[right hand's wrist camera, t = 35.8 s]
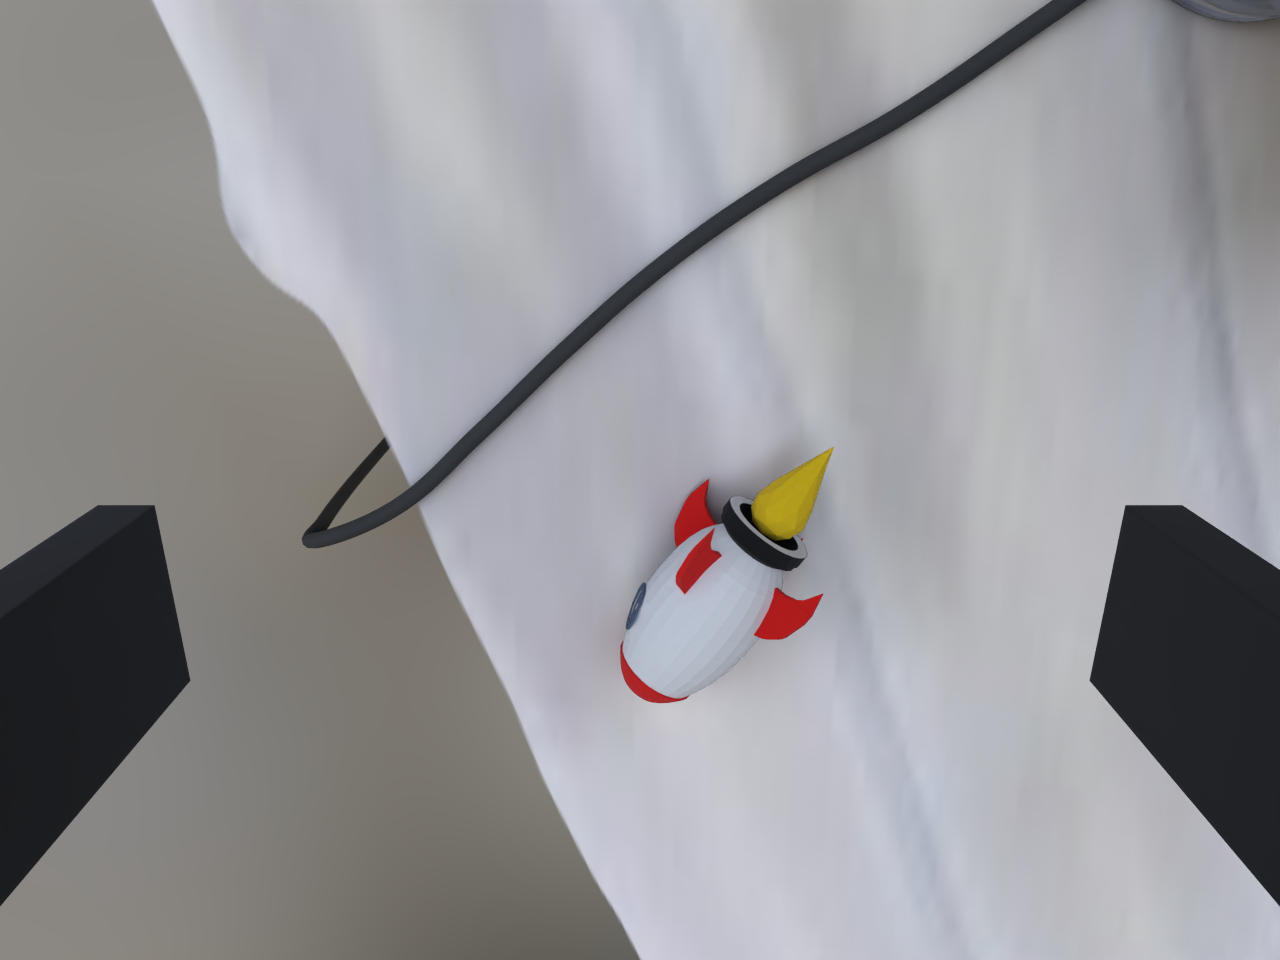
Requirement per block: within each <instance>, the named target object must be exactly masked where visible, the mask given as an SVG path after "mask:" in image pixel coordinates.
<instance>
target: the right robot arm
mask: <svg viewBox="0 0 1280 960" xmlns="http://www.w3.org/2000/svg"><path fill="white" fill-rule="evenodd" d="M1085 1H1086V0H1052V1H1051V2H1049V3H1048V4H1047V5H1045V6H1044V7H1042V8H1041V9H1039V10H1038V11H1037V12H1035V13H1034V14H1032V15H1031V16H1029V17H1028V18H1027V19H1025V20H1024V21H1022V22H1021V23H1019V24H1018V25H1016V26H1015V27H1014V28H1012V29H1011V30H1009V31H1008V32H1007V33H1005V34H1004V35H1002V36H1001V37H999V38H998V39H997V40H995V41H994V42H992V43H991V44H990V45H988V46H987V47H985V48H984V49H982V50H981V51H980V52H978V53H977V54H975V55H974V56H973V57H971V58H970V59H968V60H967V61H965V62H964V63H963V64H961V65H960V66H958V67H957V68H955V69H954V70H953V71H951V72H950V73H948V74H947V75H945V76H944V77H942V78H941V79H939V80H938V81H936V82H935V83H933V84H932V85H930V86H929V87H927V88H926V89H924V90H923V91H921V92H920V93H918V94H916V95H915V96H913V97H912V98H910V99H909V100H907V101H905V102H904V103H902V104H901V105H899V106H897V107H896V108H894V109H893V110H891V111H889V112H888V113H886V114H884V115H882V116H881V117H879V118H877V119H876V120H874V121H872V122H870V123H868V124H867V125H865V126H863V127H861V128H859V129H858V130H856V131H854V132H852V133H850V134H848V135H846V136H845V137H843V138H841V139H839V140H837V141H835V142H833V143H831V144H830V145H828V146H826V147H824V148H822V149H820V150H818V151H817V152H815V153H813V154H811V155H809V156H808V157H806V158H804V159H802V160H801V161H799V162H797V163H795V164H794V165H792V166H790V167H789V168H787V169H785V170H784V171H782V172H780V173H779V174H777V175H776V176H774V177H772V178H771V179H769V180H768V181H766V182H765V183H763V184H761V185H760V186H758V187H757V188H755V189H754V190H752V191H750V192H749V193H747V194H746V195H744V196H743V197H741V198H740V199H738V200H737V201H735V202H734V203H732V204H731V205H729V206H728V207H726V208H725V209H723V210H722V211H720V212H719V213H717V214H716V215H715V216H713V217H712V218H710V219H709V220H707V221H706V222H705V223H703V224H702V225H700V226H699V227H698V228H696V229H695V230H694V231H692V232H691V233H690V234H688V235H687V236H686V237H684V238H683V239H682V240H680V241H679V242H678V243H676V244H675V245H674V246H672V247H671V248H670V249H668V250H667V251H666V252H665V253H663V254H662V255H661V256H659V257H658V258H657V259H656V260H654V261H653V262H652V263H651V264H649V265H648V266H647V267H646V268H644V269H643V270H642V271H641V272H639V273H638V274H637V275H636V276H635V277H633V278H632V279H631V280H630V281H629V282H627V283H626V284H625V285H624V286H623V287H622V288H620V289H619V290H618V291H617V292H616V293H615V294H614V295H612V296H611V297H610V298H609V299H608V300H607V301H606V302H605V303H603V304H602V305H601V306H600V307H599V308H598V309H597V310H596V311H595V312H593V313H592V314H591V315H590V316H589V317H588V318H587V319H586V320H585V321H584V322H583V323H582V324H580V325H579V326H578V327H577V328H576V329H575V330H574V331H573V332H572V333H571V334H570V335H569V336H567V337H566V338H565V339H564V340H563V341H562V342H561V343H560V344H559V345H558V346H557V347H556V348H554V349H553V350H552V351H551V352H550V353H549V354H548V355H547V356H546V357H545V358H544V359H543V360H542V361H541V362H540V363H539V364H538V365H537V366H536V367H535V368H534V369H533V370H532V371H530V372H529V373H528V374H527V375H526V376H525V377H524V378H523V379H522V380H521V381H520V382H519V383H518V384H517V385H516V386H515V387H514V388H513V389H512V390H511V391H510V392H509V393H508V394H507V395H506V396H505V397H504V398H503V399H502V400H501V401H500V402H499V403H498V404H497V405H496V406H495V407H494V408H493V409H492V410H491V411H490V412H489V413H488V414H487V415H486V416H485V417H484V418H483V419H482V420H481V421H480V422H478V423H477V424H476V425H475V426H474V427H473V428H472V429H471V430H470V431H469V432H468V433H467V434H466V435H465V436H464V437H463V438H462V439H461V440H460V441H459V442H458V443H457V444H456V445H455V446H454V447H453V448H452V449H451V450H450V451H449V452H448V453H447V454H446V455H445V456H444V457H443V458H442V459H441V460H440V461H439V462H438V463H437V464H436V465H435V466H434V467H433V468H432V469H431V470H430V471H429V472H428V473H427V474H426V475H425V476H424V477H422V478H421V479H420V480H419V481H418V482H417V483H415V484H414V485H413V486H412V487H410V488H409V489H408V490H407V491H405V492H404V493H402V494H401V495H400V496H398V497H397V498H395V499H394V500H392V501H391V502H389V503H387V504H386V505H384V506H382V507H380V508H379V509H377V510H375V511H373V512H371V513H369V514H367V515H365V516H362V517H360V518H358V519H356V520H353V521H351V522H348V523H346V524H343V525H340V526H337V527H334V528H331V529H328V527H329V526H330V524H331V523H332V521H333V520H334V518H335V517H336V515H337V514H338V512H339V511H340V509H341V508H342V506H343V505H344V504H345V502H346V501H347V500H348V498H349V497H350V496H351V494H352V493H353V492H354V491H355V489H356V488H357V487H358V485H359V484H360V483H361V482H362V481H363V479H364V478H365V477H366V476H367V474H368V473H369V472H370V471H371V470H372V468H373V467H374V466H375V465H376V464H377V463H378V461H379V460H380V459H381V458H382V457H383V456H384V454H385V453H386V452H387V451H388V450H389V449H390V447H391V445H390V444H389V442H388V440H387V438H386V436H385V437H384V438H383V439H382V440H381V442H380V443H379V444H378V445H377V446H376V447H375V448H374V449H373V450H372V452H371V453H370V454H369V455H368V456H367V457H366V458H365V459H364V460H363V462H362V463H361V464H360V465H359V466H358V467H357V468H356V470H355V471H354V472H353V473H352V474H351V475H350V476H349V478H348V479H347V480H346V481H345V482H344V484H343V485H342V486H341V487H340V489H339V490H338V491H337V492H336V494H335V495H334V496H333V497H332V499H331V500H330V501H329V503H328V504H327V505H326V506H325V508H324V509H323V511H322V512H321V514H320V515H319V516H318V518H317V519H316V520H315V522H314V523H313V524H312V525H311V526H310V527H309V528H308V529H307V530H306V531H305V533H304V534H303V537H302V543H303V545H305V546H306V547H307V548H321V547H325V546H329V545H333V544H336V543H339V542H342V541H345V540H348V539H351V538H353V537H356V536H358V535H361V534H363V533H366V532H368V531H370V530H372V529H374V528H376V527H378V526H380V525H382V524H384V523H386V522H388V521H390V520H391V519H393V518H395V517H396V516H398V515H400V514H401V513H403V512H404V511H406V510H407V509H409V508H410V507H412V506H413V505H415V504H416V503H417V502H418V501H420V500H421V499H422V498H424V497H425V496H426V495H427V494H428V493H430V492H431V491H432V490H433V489H434V488H435V487H436V486H437V485H438V484H440V483H441V482H442V481H443V480H444V479H445V478H446V477H447V476H448V475H449V474H450V473H451V472H452V471H453V470H454V469H455V468H456V467H457V466H458V465H459V464H460V463H461V462H462V461H463V460H464V459H465V458H466V457H467V456H468V455H469V454H470V453H471V452H472V451H473V450H474V449H475V448H476V447H477V446H478V445H479V444H480V443H481V442H482V441H483V440H484V439H485V438H486V437H487V436H489V435H490V434H491V433H492V432H493V431H494V430H495V429H496V428H497V427H498V426H499V425H500V424H501V423H502V422H503V421H504V420H505V419H506V418H507V417H509V416H510V415H511V414H512V413H513V412H514V411H515V410H516V409H517V408H518V407H519V406H520V405H521V404H522V403H523V402H524V401H525V400H526V399H527V398H528V397H529V396H530V395H531V394H532V393H533V392H534V391H535V390H536V389H537V388H538V387H539V386H540V385H541V384H542V383H543V382H544V381H545V380H546V379H547V378H548V377H549V376H550V375H551V374H552V373H554V372H555V371H556V370H557V369H558V368H559V367H560V366H561V365H562V364H563V363H564V362H565V361H566V360H567V359H568V358H570V357H571V356H572V355H573V354H574V353H575V352H576V351H577V350H578V349H579V348H580V347H582V346H583V345H584V344H585V343H586V342H587V341H588V340H589V339H590V338H591V337H593V336H594V335H595V334H596V333H597V332H598V331H599V330H600V329H601V328H602V327H604V326H605V325H606V324H607V323H608V322H609V321H610V320H611V319H612V318H613V317H615V316H616V315H617V314H618V313H619V312H620V311H621V310H623V309H624V308H625V307H626V306H627V305H628V304H629V303H631V302H632V301H633V300H634V299H635V298H636V297H638V296H639V295H640V294H641V293H642V292H644V291H645V290H646V289H647V288H649V287H650V286H651V285H652V284H653V283H655V282H656V281H657V280H658V279H660V278H661V277H662V276H664V275H665V274H666V273H667V272H669V271H670V270H671V269H673V268H674V267H675V266H676V265H678V264H679V263H680V262H682V261H683V260H684V259H686V258H687V257H688V256H690V255H691V254H692V253H694V252H695V251H696V250H698V249H699V248H700V247H702V246H703V245H704V244H706V243H707V242H709V241H710V240H711V239H713V238H714V237H716V236H717V235H718V234H720V233H721V232H723V231H724V230H726V229H727V228H729V227H730V226H732V225H733V224H734V223H736V222H737V221H739V220H740V219H742V218H743V217H745V216H747V215H748V214H750V213H751V212H753V211H754V210H756V209H757V208H759V207H760V206H762V205H764V204H765V203H767V202H768V201H770V200H771V199H773V198H775V197H776V196H778V195H779V194H781V193H783V192H784V191H786V190H787V189H789V188H791V187H792V186H794V185H796V184H797V183H799V182H801V181H802V180H804V179H806V178H808V177H809V176H811V175H813V174H815V173H816V172H818V171H820V170H822V169H824V168H826V167H827V166H829V165H831V164H833V163H835V162H837V161H839V160H841V159H842V158H844V157H846V156H848V155H850V154H852V153H854V152H856V151H858V150H859V149H861V148H863V147H865V146H867V145H869V144H871V143H872V142H874V141H876V140H878V139H880V138H881V137H883V136H885V135H887V134H888V133H890V132H892V131H894V130H895V129H897V128H899V127H900V126H902V125H904V124H905V123H907V122H909V121H910V120H912V119H913V118H915V117H917V116H918V115H920V114H921V113H923V112H925V111H926V110H928V109H929V108H931V107H932V106H934V105H935V104H937V103H938V102H940V101H942V100H943V99H945V98H946V97H948V96H949V95H951V94H952V93H954V92H955V91H957V90H958V89H959V88H961V87H962V86H964V85H965V84H967V83H968V82H970V81H971V80H973V79H974V78H975V77H977V76H978V75H980V74H981V73H983V72H984V71H985V70H987V69H988V68H990V67H991V66H993V65H994V64H995V63H997V62H998V61H1000V60H1001V59H1003V58H1004V57H1005V56H1007V55H1008V54H1010V53H1011V52H1013V51H1014V50H1015V49H1017V48H1018V47H1020V46H1021V45H1023V44H1024V43H1025V42H1027V41H1028V40H1030V39H1031V38H1033V37H1034V36H1036V35H1037V34H1038V33H1040V32H1041V31H1043V30H1044V29H1046V28H1047V27H1049V26H1050V25H1052V24H1053V23H1054V22H1056V21H1057V20H1059V19H1060V18H1062V17H1063V16H1065V15H1066V14H1067V13H1069V12H1070V11H1072V10H1073V9H1075V8H1076V7H1077V6H1079V5H1080V4H1082V3H1083V2H1085ZM1174 1H1175V2H1177V3H1178V4H1180V5H1182V6H1183V7H1185V8H1187V9H1189V10H1191V11H1193V12H1195V13H1197V14H1200V15H1203V16H1206V17H1209V18H1213V19H1218V20H1223V21H1233V22H1254V21H1261V20H1269V19H1274V18H1279V17H1280V0H1174ZM327 529H328V530H327ZM189 681H190V677H189V672H188V667H187V662H186V657H185V652H184V647H183V642H182V638H181V633H180V628H179V623H178V618H177V613H176V608H175V603H174V598H173V594H172V589H171V584H170V579H169V574H168V569H167V564H166V559H165V555H164V550H163V545H162V540H161V535H160V530H159V525H158V520H157V515H156V511H155V506H154V505H98V506H96V507H95V508H93V509H92V510H90V511H89V512H87V513H86V514H84V515H83V516H81V517H80V518H78V519H76V520H75V521H74V522H72V523H70V524H69V525H67V526H66V527H64V528H63V529H61V530H60V531H58V532H57V533H55V534H54V535H52V536H51V537H49V538H48V539H46V540H45V541H43V542H42V543H40V544H39V545H37V546H36V547H34V548H33V549H31V550H30V551H28V552H27V553H25V554H24V555H22V556H21V557H19V558H18V559H16V560H15V561H13V562H12V563H10V564H8V565H7V566H6V567H4V568H2V569H1V570H0V906H1V905H2V903H3V902H4V901H5V900H6V899H7V898H8V896H9V895H10V894H11V893H12V892H13V890H14V889H15V888H16V887H17V886H18V885H19V883H20V882H21V881H22V880H23V879H24V877H25V876H26V875H27V874H28V873H29V871H30V870H31V869H32V868H33V867H34V866H35V864H36V863H37V862H38V861H39V860H40V858H41V857H42V856H43V855H44V854H45V852H46V851H47V850H48V849H49V848H50V847H51V845H52V844H53V843H54V842H55V841H56V839H57V838H58V837H59V836H60V835H61V833H62V832H63V831H64V830H65V829H66V828H67V826H68V825H69V824H70V823H71V822H72V820H73V819H74V818H75V817H76V816H77V814H78V813H79V812H80V811H81V810H82V809H83V807H84V806H85V805H86V804H87V803H88V801H89V800H90V799H91V798H92V797H93V795H94V794H95V793H96V792H97V791H98V790H99V788H100V787H101V786H102V785H103V784H104V782H105V781H106V780H107V779H108V778H109V776H110V775H111V774H112V773H113V772H114V771H115V769H116V768H117V767H118V766H119V765H120V763H121V762H122V761H123V760H124V759H125V757H126V756H127V755H128V754H129V753H130V752H131V750H132V749H133V748H134V747H135V746H136V744H137V743H138V742H139V741H140V740H141V738H142V737H143V736H144V735H145V734H146V733H147V731H148V730H149V729H150V728H151V727H152V725H153V724H154V723H155V722H156V721H157V719H158V718H159V717H160V716H161V715H162V714H163V712H164V711H165V710H166V709H167V708H168V706H169V705H170V704H171V703H172V702H173V700H174V699H175V698H176V697H177V696H178V695H179V693H180V692H181V691H182V690H183V689H184V687H185V686H186V685H187V684H188V683H189ZM1090 681H1091V683H1092V684H1093V685H1094V686H1095V687H1096V689H1097V690H1098V691H1099V692H1100V693H1101V695H1102V696H1103V697H1104V698H1105V699H1106V700H1107V702H1108V703H1109V704H1110V705H1111V706H1112V708H1113V709H1114V710H1115V711H1116V712H1117V714H1118V715H1119V716H1120V717H1121V718H1122V719H1123V721H1124V722H1125V723H1126V724H1127V725H1128V727H1129V728H1130V729H1131V730H1132V731H1133V733H1134V734H1135V735H1136V736H1137V737H1138V738H1139V740H1140V741H1141V742H1142V743H1143V744H1144V746H1145V747H1146V748H1147V749H1148V750H1149V752H1150V753H1151V754H1152V755H1153V756H1154V757H1155V759H1156V760H1157V761H1158V762H1159V763H1160V765H1161V766H1162V767H1163V768H1164V769H1165V771H1166V772H1167V773H1168V774H1169V775H1170V776H1171V778H1172V779H1173V780H1174V781H1175V782H1176V784H1177V785H1178V786H1179V787H1180V788H1181V790H1182V791H1183V792H1184V793H1185V794H1186V795H1187V797H1188V798H1189V799H1190V800H1191V801H1192V803H1193V804H1194V805H1195V806H1196V807H1197V809H1198V810H1199V811H1200V812H1201V813H1202V814H1203V816H1204V817H1205V818H1206V819H1207V820H1208V822H1209V823H1210V824H1211V825H1212V826H1213V828H1214V829H1215V830H1216V831H1217V832H1218V833H1219V835H1220V836H1221V837H1222V838H1223V839H1224V841H1225V842H1226V843H1227V844H1228V845H1229V847H1230V848H1231V849H1232V850H1233V851H1234V852H1235V854H1236V855H1237V856H1238V857H1239V858H1240V860H1241V861H1242V862H1243V863H1244V864H1245V866H1246V867H1247V868H1248V869H1249V870H1250V871H1251V873H1252V874H1253V875H1254V876H1255V877H1256V879H1257V880H1258V881H1259V882H1260V883H1261V885H1262V886H1263V887H1264V888H1265V889H1266V890H1267V892H1268V893H1269V894H1270V895H1271V896H1272V898H1273V899H1274V900H1275V901H1276V902H1277V904H1278V905H1279V906H1280V570H1279V569H1278V568H1276V567H1275V566H1273V565H1272V564H1270V563H1269V562H1267V561H1265V560H1264V559H1262V558H1261V557H1259V556H1258V555H1256V554H1255V553H1253V552H1252V551H1250V550H1249V549H1247V548H1246V547H1244V546H1243V545H1241V544H1240V543H1238V542H1237V541H1235V540H1234V539H1232V538H1231V537H1229V536H1228V535H1226V534H1225V533H1223V532H1222V531H1220V530H1219V529H1217V528H1216V527H1214V526H1213V525H1211V524H1210V523H1208V522H1207V521H1205V520H1204V519H1202V518H1200V517H1199V516H1197V515H1196V514H1194V513H1193V512H1191V511H1190V510H1188V509H1187V508H1185V507H1184V506H1182V505H1126V506H1125V510H1124V515H1123V520H1122V525H1121V530H1120V535H1119V540H1118V545H1117V550H1116V554H1115V559H1114V564H1113V569H1112V574H1111V579H1110V584H1109V589H1108V594H1107V598H1106V603H1105V608H1104V613H1103V618H1102V623H1101V628H1100V633H1099V638H1098V642H1097V647H1096V652H1095V657H1094V662H1093V667H1092V672H1091V677H1090Z"/></svg>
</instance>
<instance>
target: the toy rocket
mask: <svg viewBox="0 0 1280 960" xmlns="http://www.w3.org/2000/svg"><path fill="white" fill-rule="evenodd" d="M833 448H834V447H832V448H831V449H829V450H827V451H825V452H824V453H822V454H820V455H818V456H817V457H815V458H813V459H811V460H809V461H808V462H806V463H804V464H803V465H801V466H799V467H797V468H796V469H794V470H792V471H790V472H789V473H787V474H785V475H784V476H782V477H780V478H778V479H777V480H775V481H774V482H772V483H771V484H770V485H768V486H767V487H765V488H764V489H763V490H761V491H760V492H759V493H758V494H757V496H756V498H755V500H754V501H752V500H750V499H747V498H745V497H741V496H733V497H731V498H730V500H729V501H728V502H727V503H726V505H725V506H724V508H723V513H722V515H721V518H722V522H723V523H722V524H717V523H716V522H715V521H714V519H713V518H712V516H711V514H710V512H709V510H708V508H707V503H706V495H707V489H708V483H709V479H708V480H707V481H706V482H704V483H703V484H702V485H701V486H700V487H698V488H697V489H696V490H695V491H694V492H692V493H691V495H690V496H689V497H688V499H687V500H686V501H685V503H684V505H683V508H682V510H681V512H680V514H679V516H678V518H677V520H676V523H675V543H676V546H677V548H676V549H675V550H674V551H673V552H672V553H671V554H670V555H669V556H668V557H667V559H666V560H665V561H664V562H663V563H662V564H661V565H660V566H659V568H658V569H657V570H656V572H655V573H654V574H653V576H652V577H651V578H650V580H649V581H648V582H647V584H645V583H642V585H641V586H640V588H639V589H638V592H637V594H636V596H635V598H634V601H633V603H632V606H631V609H630V612H629V615H628V619H627V623H626V629H627V630H626V633H625V637H624V641H623V642H622V644H621V650H620V653H621V669H622V673H623V676H624V680H625V682H626V683H627V685H628V686H629V688H630V689H631V690H632V691H633V692H634V693H635V694H636V695H638V696H639V697H641V698H642V699H644V700H646V701H649V702H654V703H670V702H676V701H681V700H684V699H687V697H688V696H689V695H691V694H693V693H695V692H697V691H699V690H701V689H703V688H705V687H706V686H708V685H710V684H712V683H713V682H715V681H716V680H717V679H718V678H720V677H721V676H722V675H724V674H725V673H726V672H728V671H729V670H730V669H731V668H732V667H733V666H734V665H735V664H736V663H737V662H738V661H740V659H741V658H742V657H743V656H744V655H745V654H746V653H747V651H748V650H749V649H750V648H751V647H752V646H753V644H754V643H755V642H756V641H757V640H758V638H762V639H774V640H779V639H784V638H786V637H788V636H789V635H791V634H792V633H794V632H795V631H797V630H798V629H799V628H801V627H802V626H804V625H805V624H806V623H807V622H808V620H809V619H810V618H811V617H812V615H813V613H814V611H815V609H816V607H817V605H818V603H819V601H820V599H821V597H822V595H823V594H821V595H818V596H815V597H813V598H810V599H807V600H796V599H794V598H791V597H789V596H787V595H785V594H784V593H783V592H782V584H783V570H784V571H791V570H792V569H793V568H797V567H798V566H799V565H800V564H801V563H802V561H803V560H804V559H805V558H806V557H807V550H806V547H805V545H804V544H803V542H802V540H803V538H802V539H800V538H799V537H798V536H797V535H796V534H798V533H800V532H801V531H803V529H804V527H805V525H806V523H807V521H808V519H809V517H810V515H811V513H812V510H813V506H814V503H815V500H816V497H817V494H818V491H819V488H820V484H821V481H822V478H823V475H824V472H825V469H826V467H827V464H828V461H829V459H830V456H831V453H832V451H833Z"/></svg>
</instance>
